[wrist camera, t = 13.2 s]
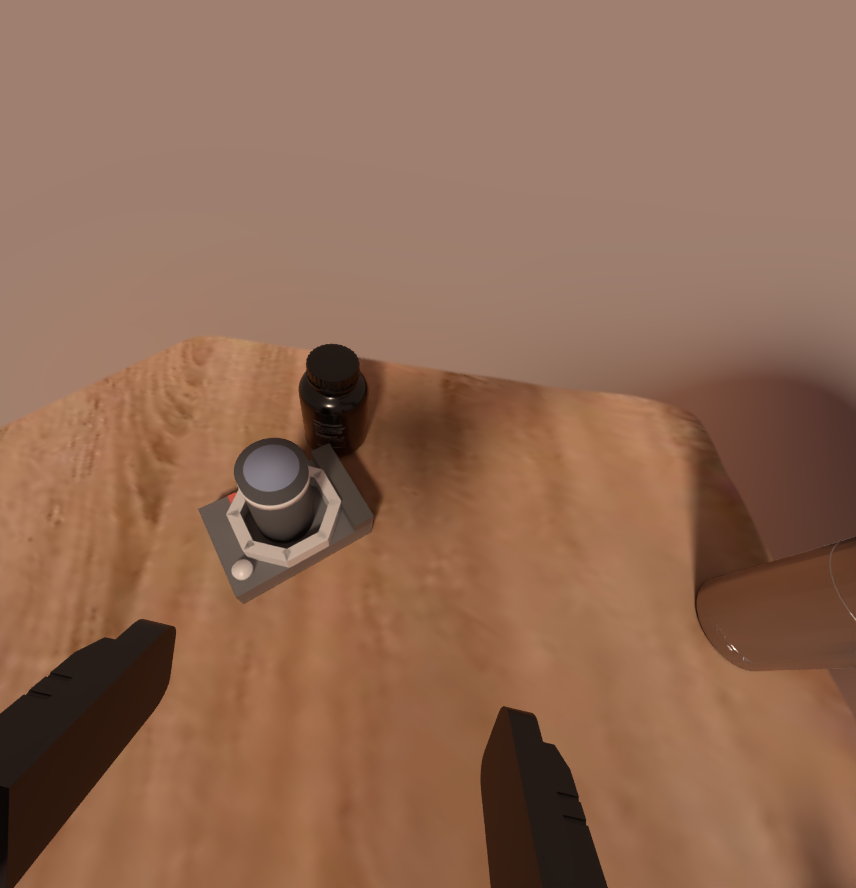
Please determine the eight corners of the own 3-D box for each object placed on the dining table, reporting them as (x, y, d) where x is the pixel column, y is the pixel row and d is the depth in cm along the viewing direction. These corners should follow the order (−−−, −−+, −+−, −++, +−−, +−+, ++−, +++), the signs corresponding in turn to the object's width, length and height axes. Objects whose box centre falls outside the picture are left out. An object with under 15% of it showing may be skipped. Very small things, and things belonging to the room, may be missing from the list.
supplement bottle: (377, 432, 47) (386, 363, 37) (337, 470, 44) (334, 405, 34) (335, 400, 48) (332, 324, 38) (292, 434, 45) (277, 361, 35)
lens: (301, 483, 39) (291, 427, 30) (323, 527, 37) (320, 481, 29) (248, 506, 37) (222, 452, 28) (269, 554, 35) (248, 512, 27)
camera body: (330, 464, 44) (329, 440, 40) (371, 531, 41) (374, 514, 37) (207, 520, 38) (190, 500, 34) (243, 603, 35) (230, 592, 31)
